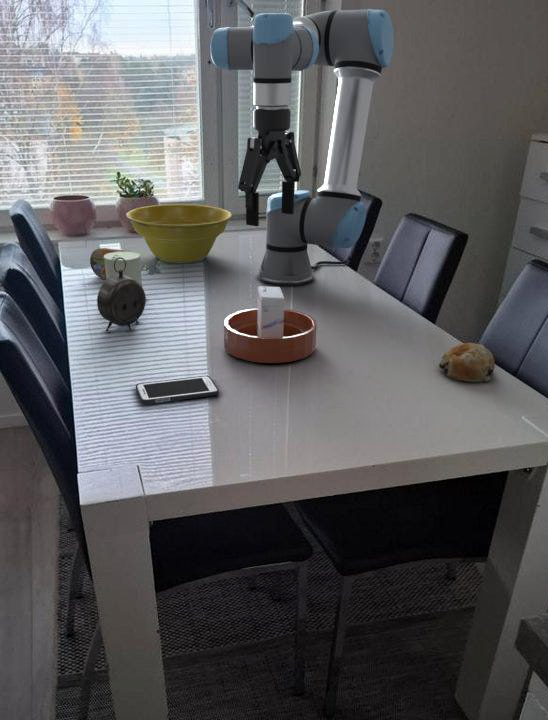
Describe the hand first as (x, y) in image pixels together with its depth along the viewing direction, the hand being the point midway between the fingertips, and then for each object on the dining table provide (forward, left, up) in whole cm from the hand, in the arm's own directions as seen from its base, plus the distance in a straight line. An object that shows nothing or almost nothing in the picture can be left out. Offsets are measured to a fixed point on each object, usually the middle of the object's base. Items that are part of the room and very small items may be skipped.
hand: (270, 219), depth 144 cm
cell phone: (+41, +8, -24) cm, 48 cm away
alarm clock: (+22, -25, -24) cm, 41 cm away
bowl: (+12, +9, -24) cm, 28 cm away
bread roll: (-1, +48, -24) cm, 54 cm away
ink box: (+12, +9, -23) cm, 28 cm away
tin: (-6, -57, -24) cm, 62 cm away
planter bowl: (-35, -58, -24) cm, 72 cm away
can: (+7, -40, -24) cm, 47 cm away
